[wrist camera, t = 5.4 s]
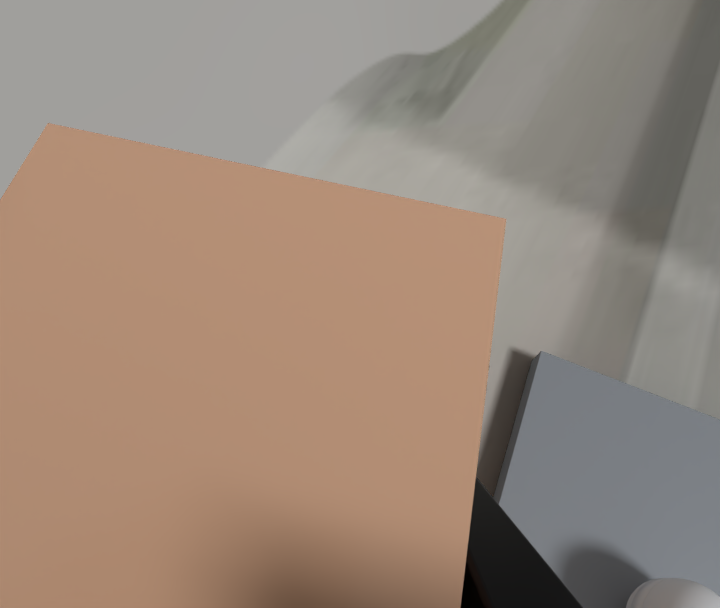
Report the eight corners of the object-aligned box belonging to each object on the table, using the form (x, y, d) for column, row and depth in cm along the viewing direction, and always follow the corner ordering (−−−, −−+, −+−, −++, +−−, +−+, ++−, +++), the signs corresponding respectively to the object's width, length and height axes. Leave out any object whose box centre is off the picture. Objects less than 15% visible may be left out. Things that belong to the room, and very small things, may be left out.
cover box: (360, 660, 13) (432, 844, 4) (120, 601, 14) (-284, 658, 5) (404, 419, 16) (506, 218, 7) (202, 373, 16) (48, 122, 7)
